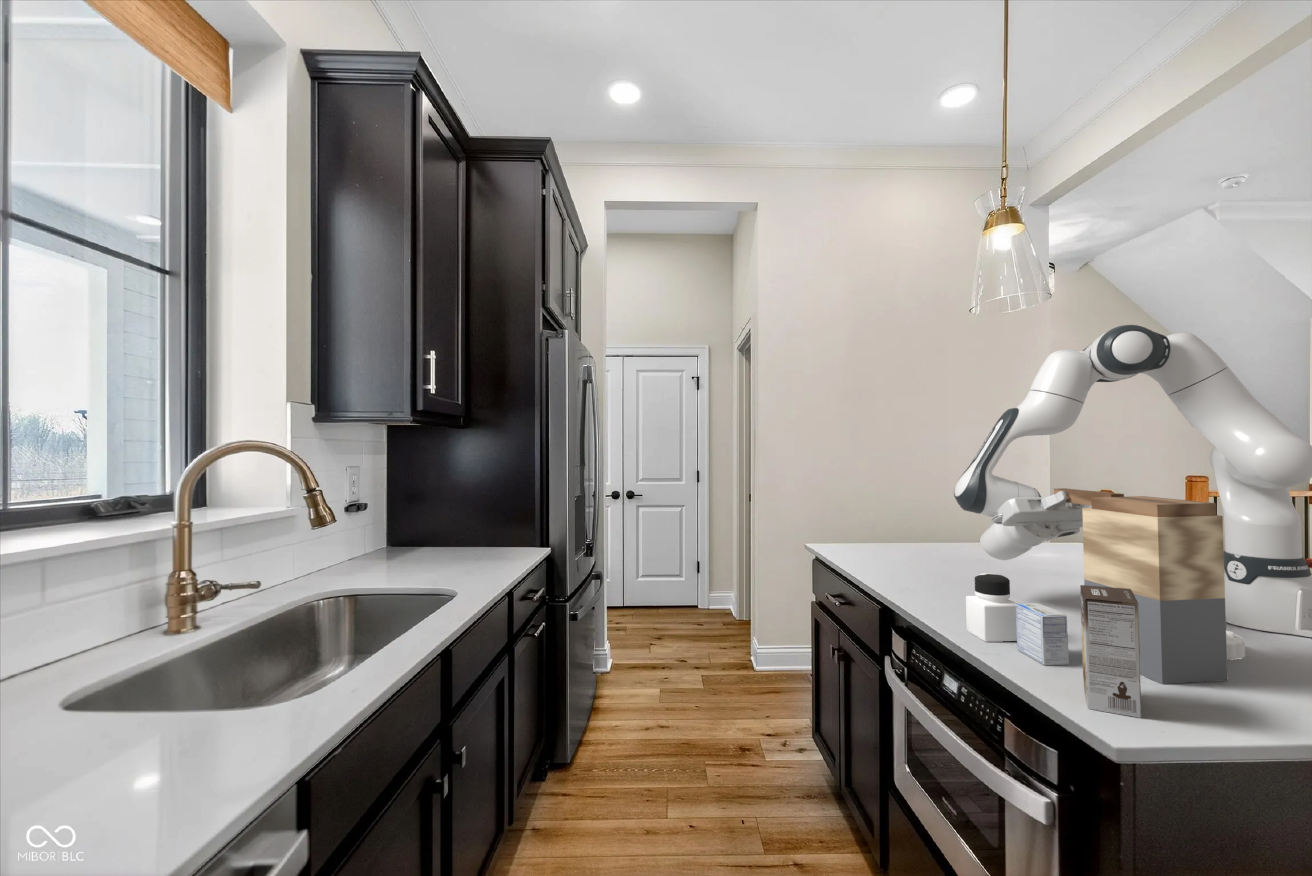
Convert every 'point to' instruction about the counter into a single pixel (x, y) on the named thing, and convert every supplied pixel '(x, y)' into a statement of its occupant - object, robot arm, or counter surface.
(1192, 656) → the tower base block
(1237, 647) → the mooncake
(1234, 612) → the robot arm
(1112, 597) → the coffee box
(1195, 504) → the walnut board
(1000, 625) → the medicine bottle
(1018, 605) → the medicine box
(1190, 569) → the tower top block
